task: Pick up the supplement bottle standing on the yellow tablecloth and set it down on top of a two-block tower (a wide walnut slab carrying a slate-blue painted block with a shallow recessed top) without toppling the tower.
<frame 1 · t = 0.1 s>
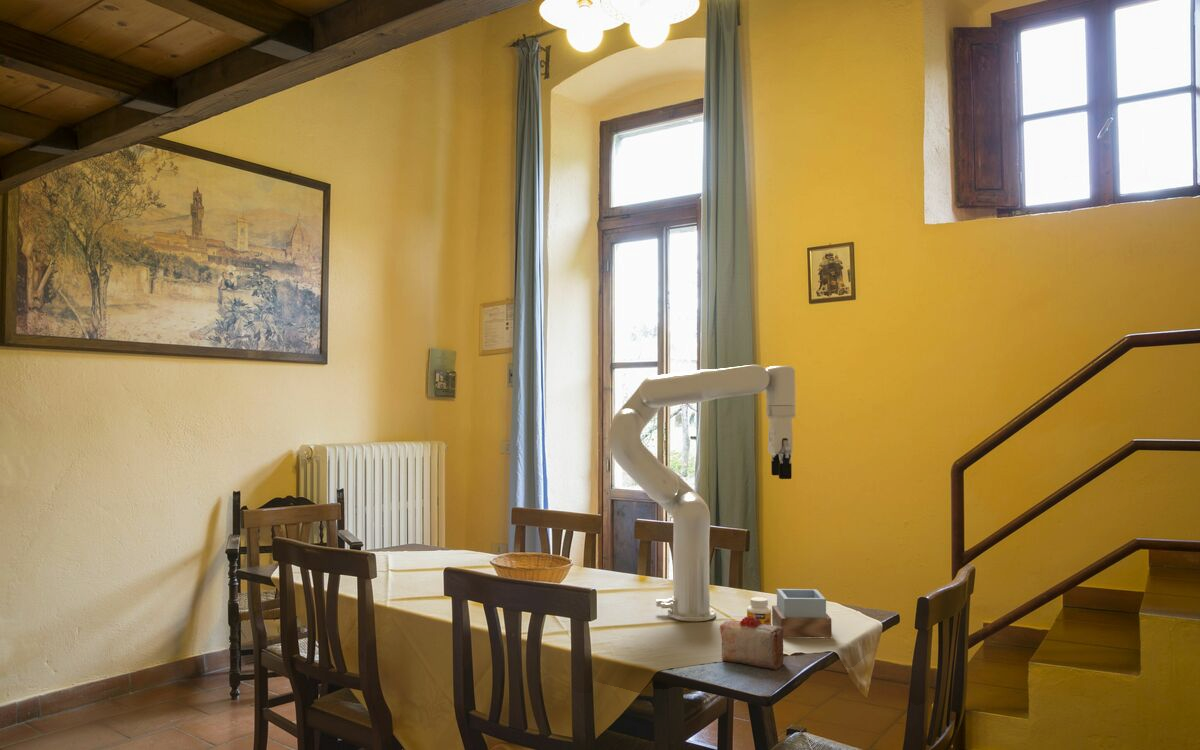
hand: (781, 477, 216), 37 cm above the table, tool pointing down, fingers open, 9 cm apart
supplement bottle: (759, 643, 192), on the table
tower base: (801, 632, 202), on the table, touching tower top
tower top: (800, 612, 202), point 5 cm above the table, touching tower base
food item: (751, 663, 178), on the table
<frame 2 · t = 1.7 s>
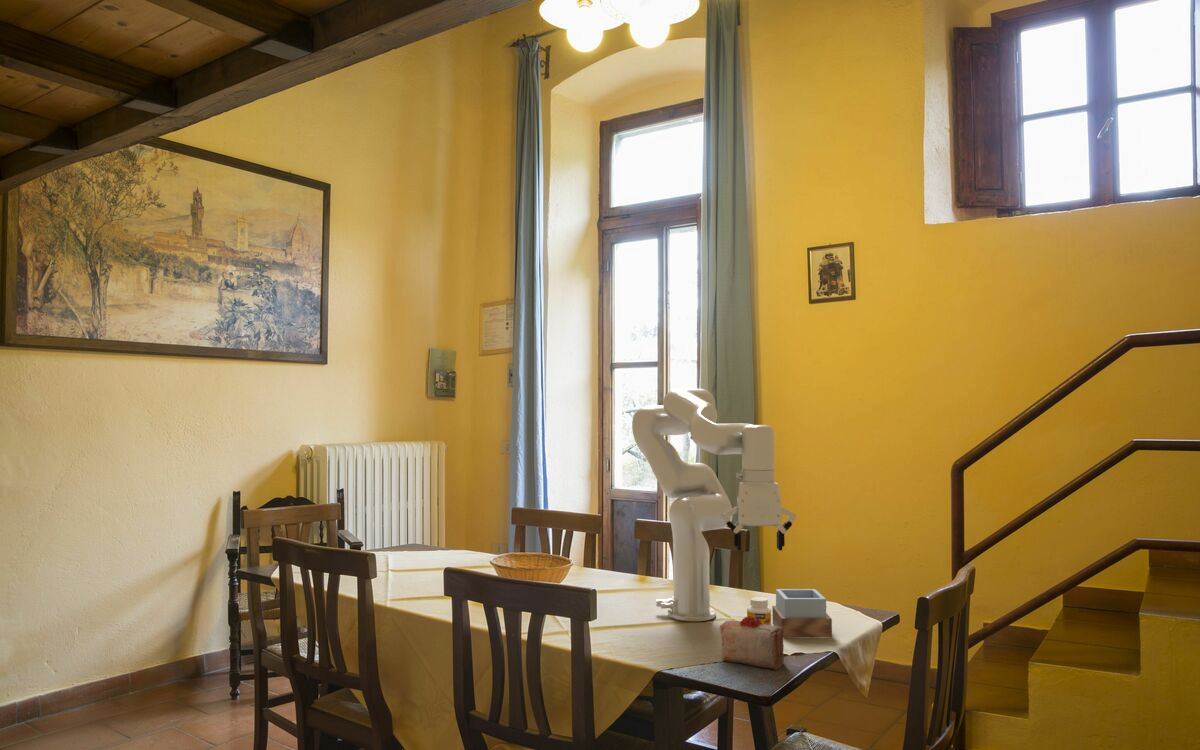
hand: (759, 549, 192), 22 cm above the table, tool pointing down, fingers open, 9 cm apart
tower base: (801, 632, 202), on the table
tower top: (800, 612, 202), point 5 cm above the table
everything else where it was.
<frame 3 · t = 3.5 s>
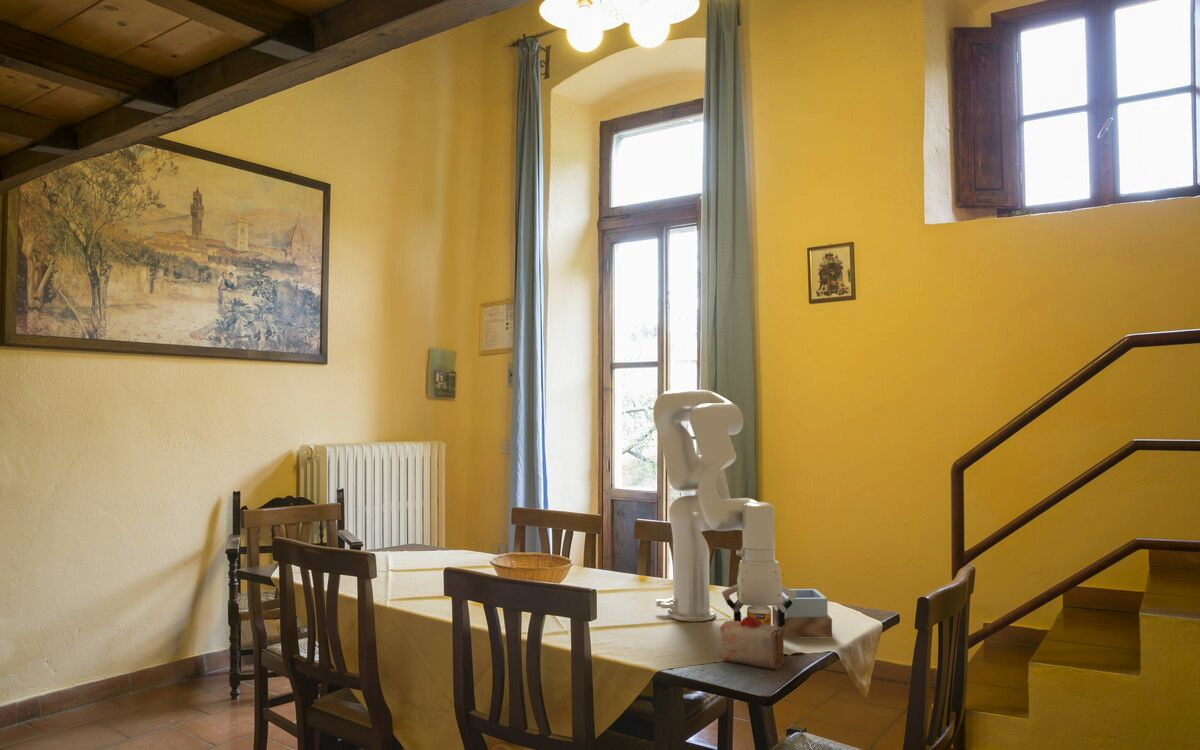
hand: (759, 628, 192), 3 cm above the table, tool pointing down, fingers open, 9 cm apart
nothing on the table moved.
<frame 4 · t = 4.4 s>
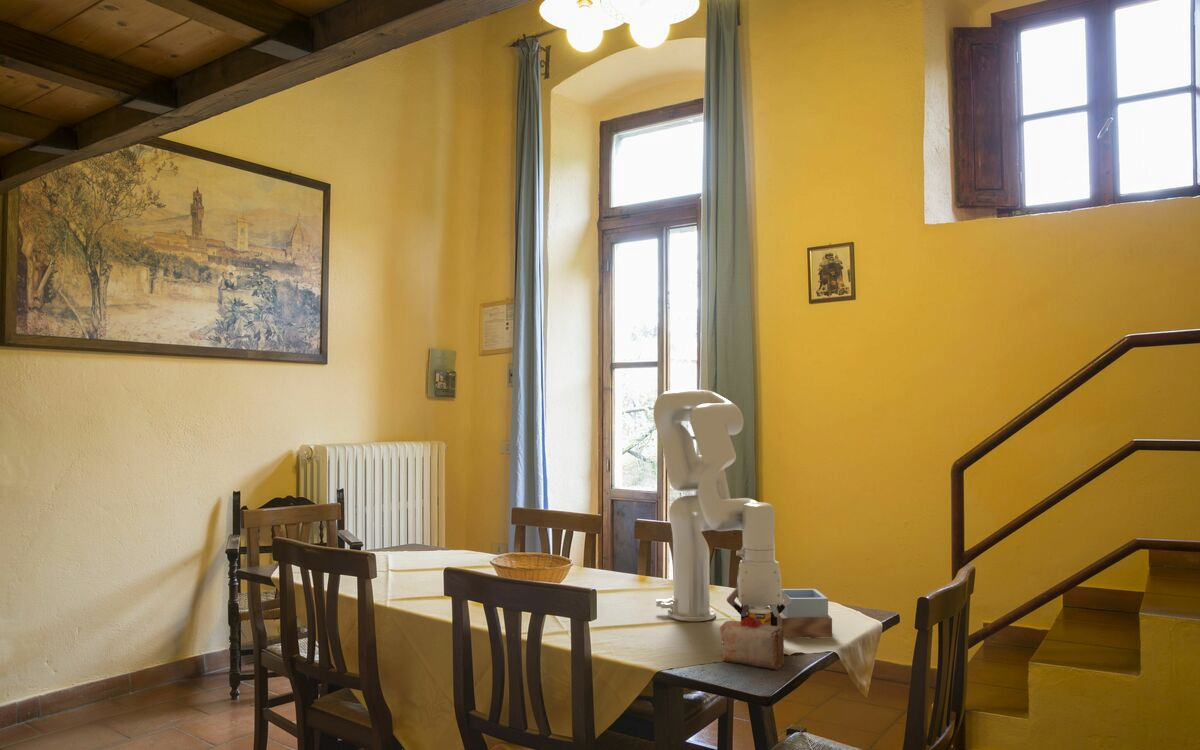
hand: (759, 631, 192), 3 cm above the table, tool pointing down, fingers closed on supplement bottle, 5 cm apart
supplement bottle: (759, 643, 192), on the table, touching gripper
tower base: (801, 632, 202), on the table, touching tower top
tower top: (801, 612, 202), point 5 cm above the table, touching tower base
everything else where it was.
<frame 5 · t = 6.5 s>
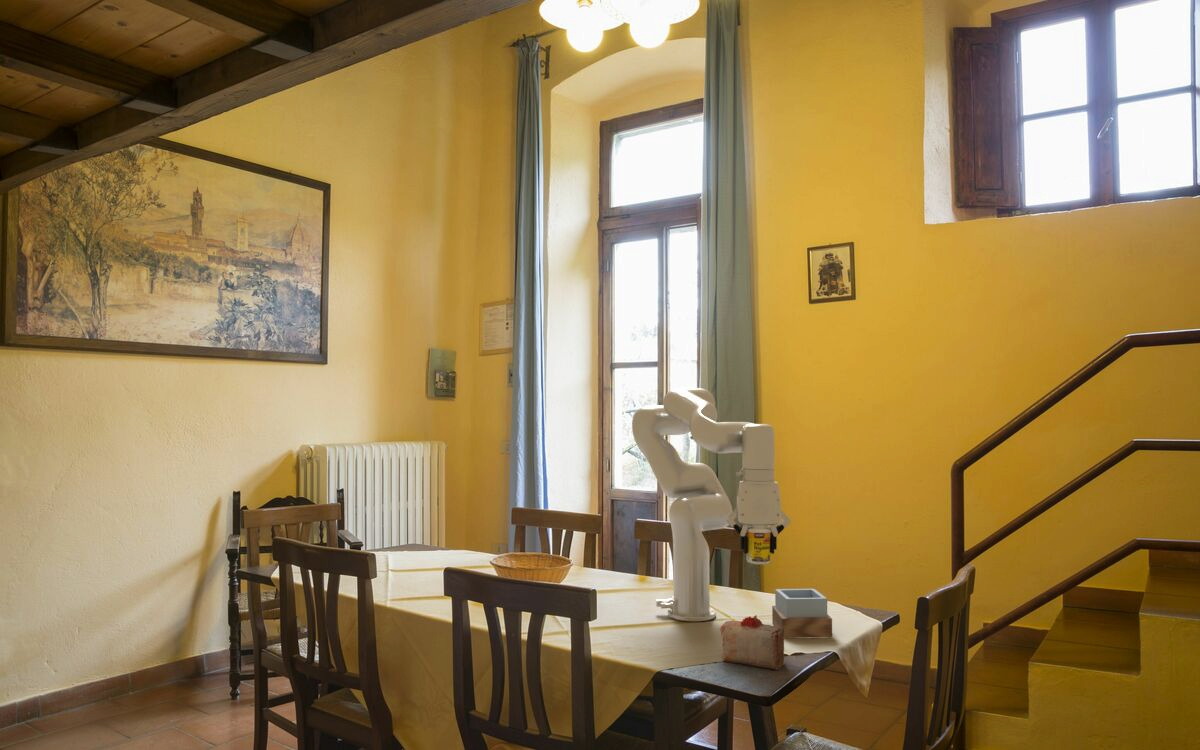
hand: (758, 551, 193), 21 cm above the table, tool pointing down, fingers closed on supplement bottle, 5 cm apart
supplement bottle: (758, 563, 193), point 18 cm above the table, touching gripper
everything else where it was.
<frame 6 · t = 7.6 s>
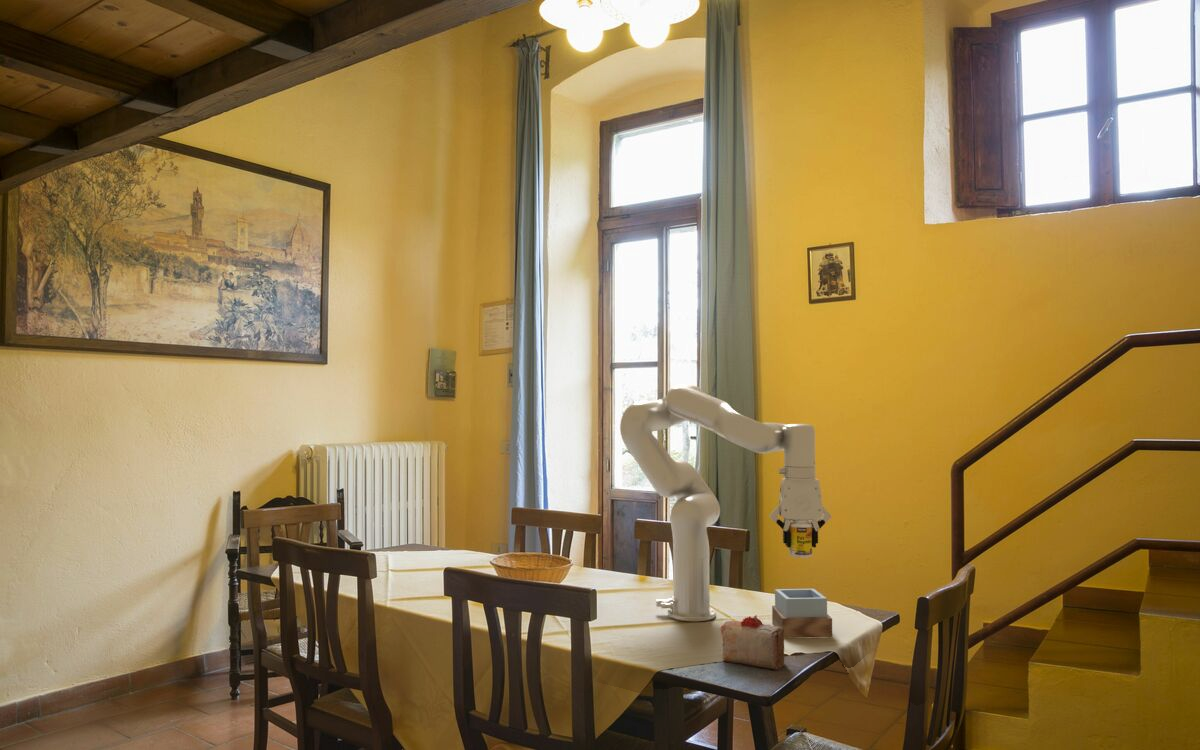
hand: (800, 545, 202), 21 cm above the table, tool pointing down, fingers closed on supplement bottle, 5 cm apart
supplement bottle: (800, 556, 202), point 18 cm above the table, touching gripper
everything else where it was.
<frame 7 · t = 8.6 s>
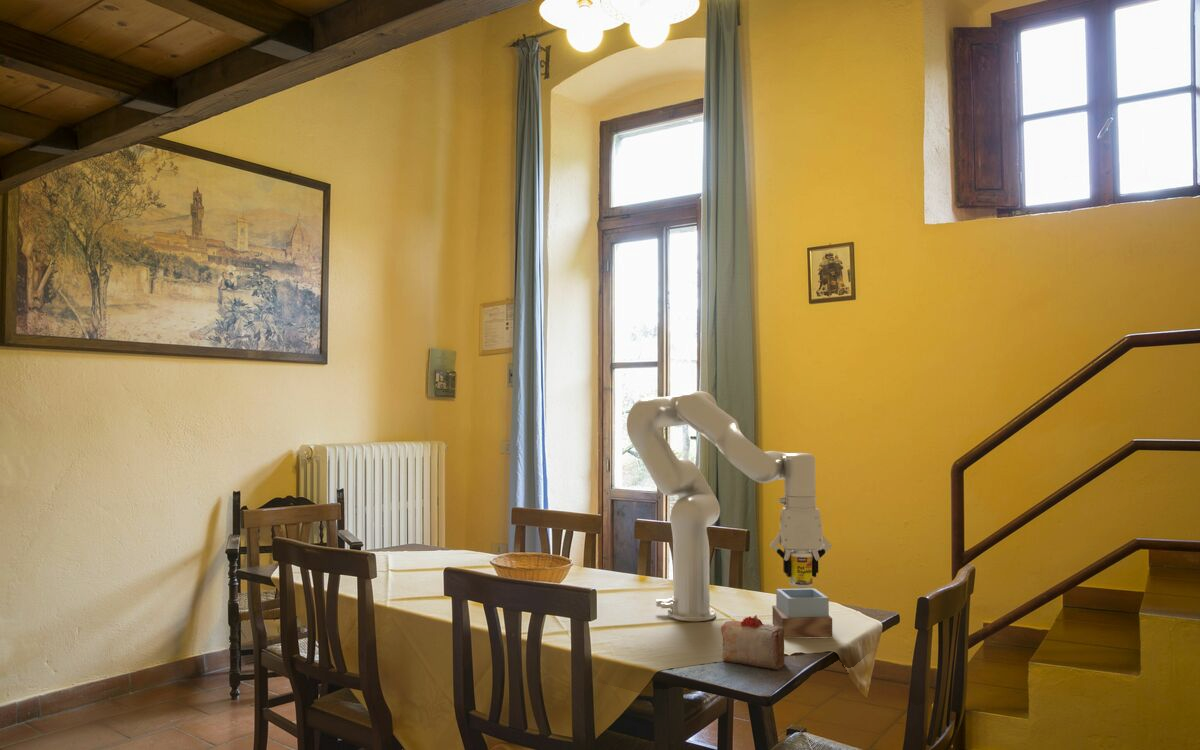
hand: (800, 575, 202), 14 cm above the table, tool pointing down, fingers closed on supplement bottle, 5 cm apart
supplement bottle: (801, 586, 202), point 11 cm above the table, touching gripper
tower base: (801, 632, 202), on the table
tower top: (802, 611, 202), point 5 cm above the table
everything else where it was.
when the fingers open (11 cm above the table, at t = 9.8 s): supplement bottle drops 1 cm, resting on tower top.
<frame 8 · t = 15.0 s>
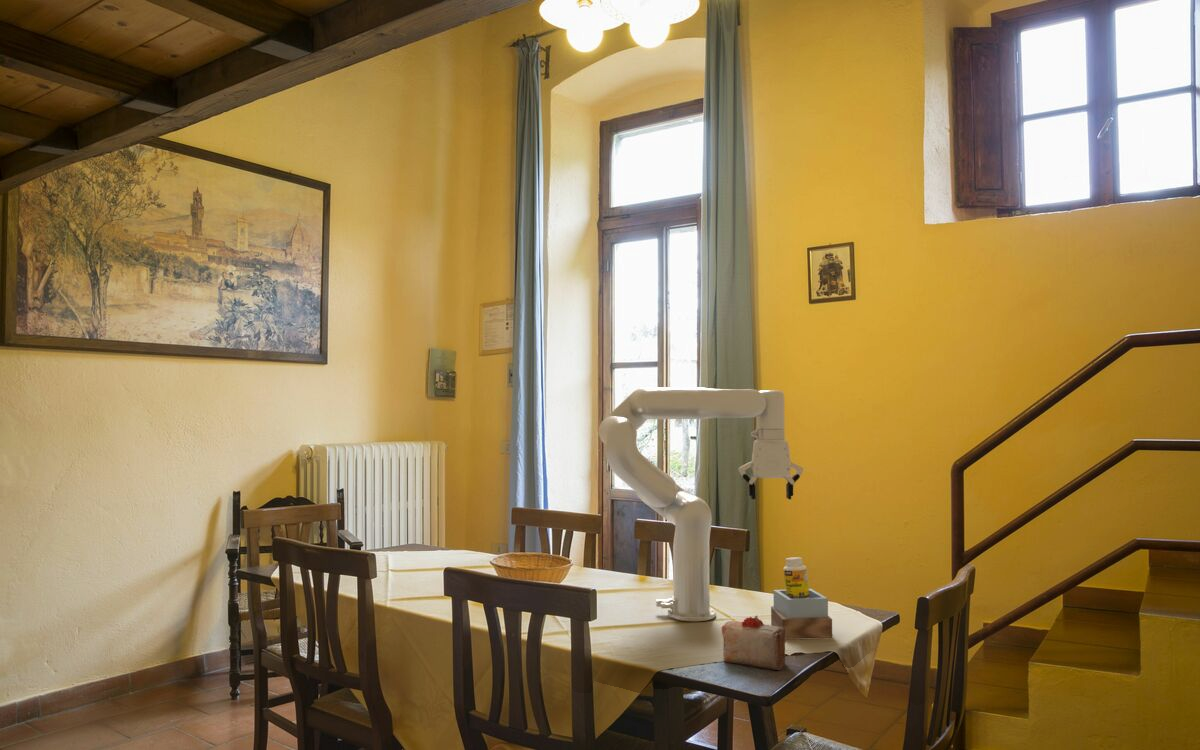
hand: (770, 498, 221), 30 cm above the table, tool pointing down, fingers open, 9 cm apart
supplement bottle: (798, 600, 202), point 7 cm above the table, touching tower top
tower base: (800, 632, 201), on the table, touching tower top
tower top: (800, 612, 201), point 5 cm above the table, touching supplement bottle, tower base
everything else where it was.
at the end: supplement bottle 0.5 cm from the tower top (horizontally); supplement bottle point 7.6 cm above the table; tower top tilted 0° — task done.
